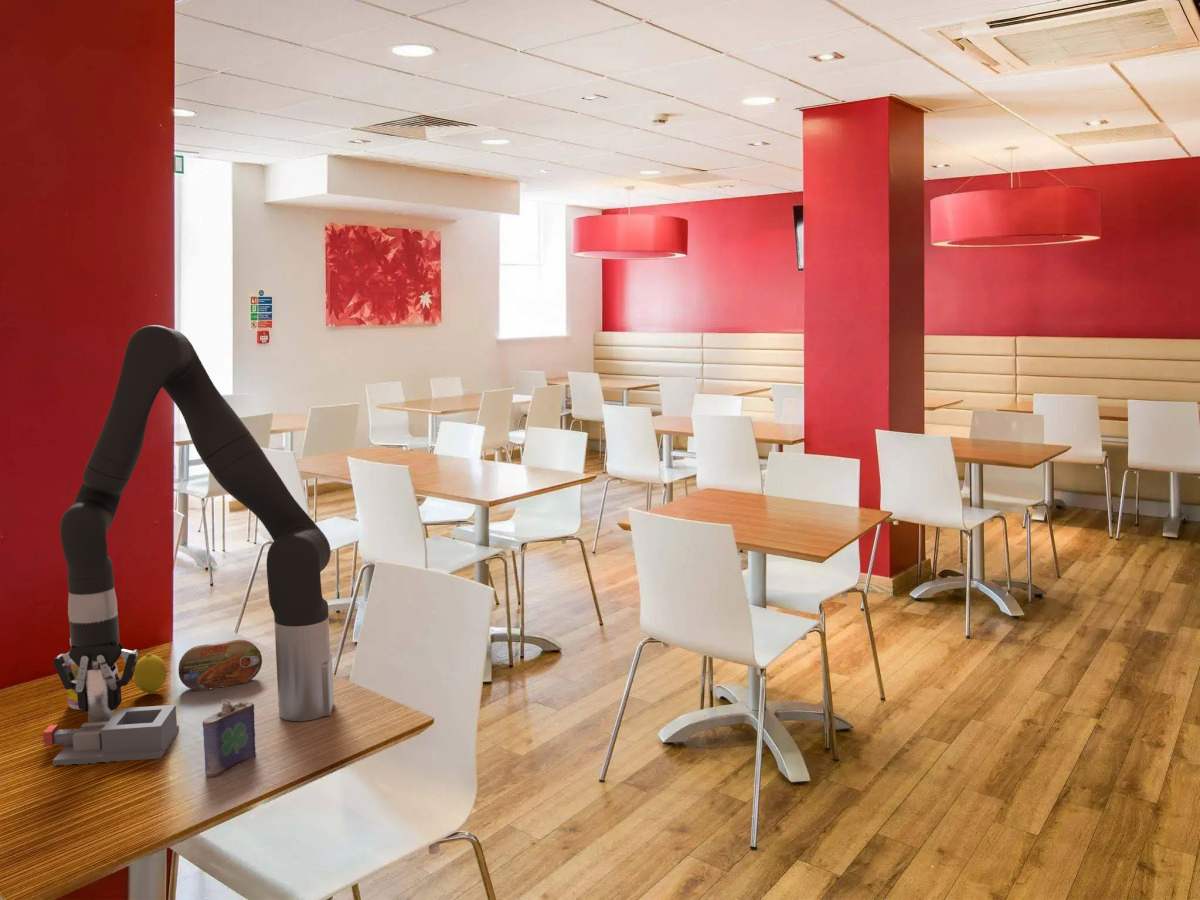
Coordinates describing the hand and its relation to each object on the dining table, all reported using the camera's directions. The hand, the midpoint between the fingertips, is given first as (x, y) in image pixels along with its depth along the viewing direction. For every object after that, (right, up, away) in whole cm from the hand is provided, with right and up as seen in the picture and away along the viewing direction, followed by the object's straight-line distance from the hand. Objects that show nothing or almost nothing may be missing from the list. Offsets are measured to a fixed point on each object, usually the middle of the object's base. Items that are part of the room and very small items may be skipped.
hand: (100, 709), depth 169 cm
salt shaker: (0, -2, 0) cm, 2 cm away
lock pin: (+2, -2, -12) cm, 12 cm away
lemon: (+3, -1, +13) cm, 13 cm away
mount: (+8, -4, -10) cm, 14 cm away
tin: (+14, 0, +18) cm, 23 cm away
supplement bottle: (-6, -1, +8) cm, 11 cm away
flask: (+29, -5, -17) cm, 34 cm away
